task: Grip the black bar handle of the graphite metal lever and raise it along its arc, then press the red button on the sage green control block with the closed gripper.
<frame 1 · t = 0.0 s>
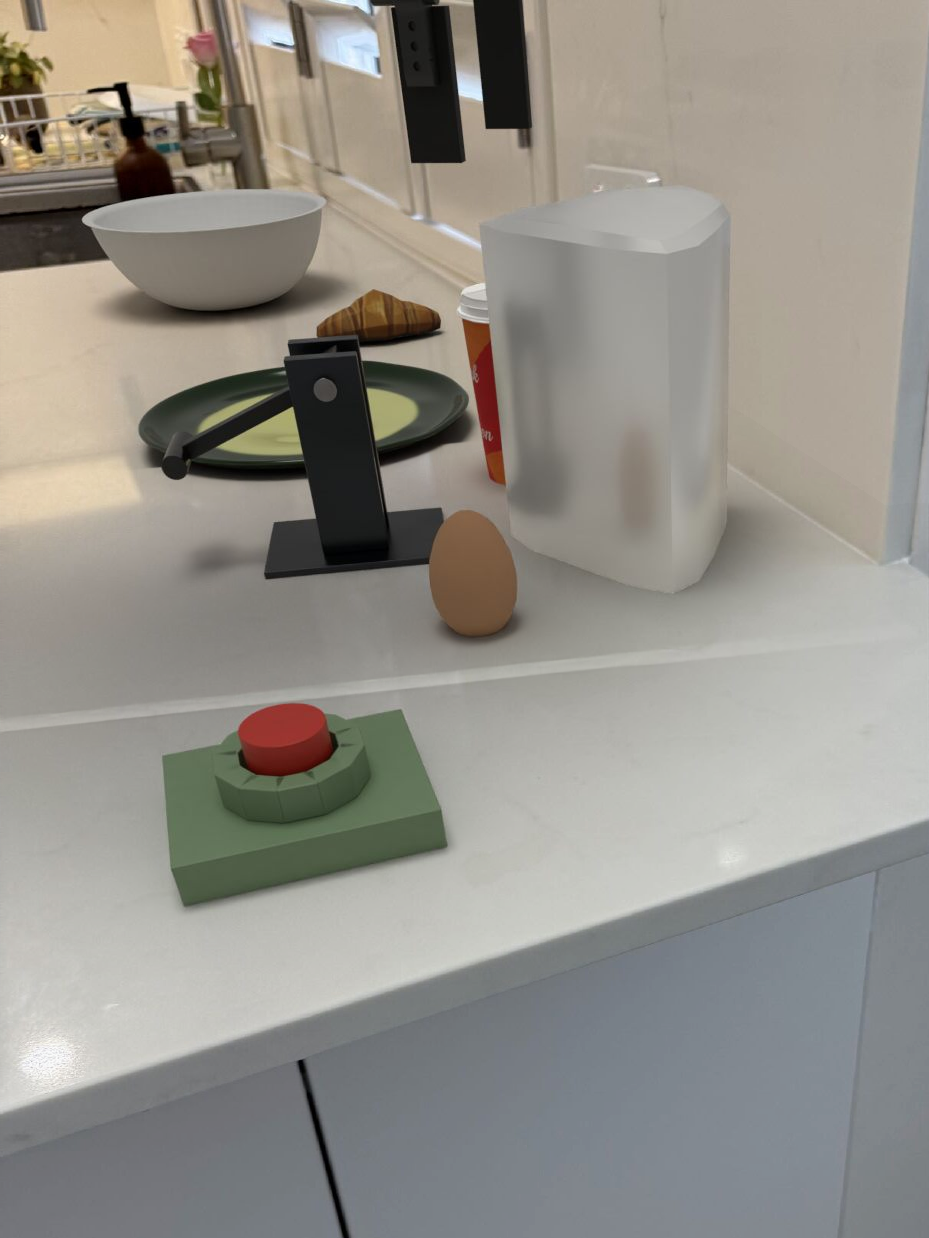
hand: (476, 144, 67), 25 cm above the worktop, tool pointing down, fingers open, 13 cm apart
egg: (481, 639, 74), on the worktop
frosted triangular prism: (651, 548, 85), on the worktop
button: (286, 740, 56), point 4 cm above the worktop, slide at 0.1 cm
bracket: (360, 555, 84), on the worktop
paper cup: (526, 486, 95), on the worktop
croissant: (381, 341, 130), on the worktop
plate: (312, 436, 106), on the worktop
bowl: (228, 304, 146), on the worktop
control block: (305, 818, 59), on the worktop
lever: (256, 413, 78), point 10 cm above the worktop, hinge at -22.0°
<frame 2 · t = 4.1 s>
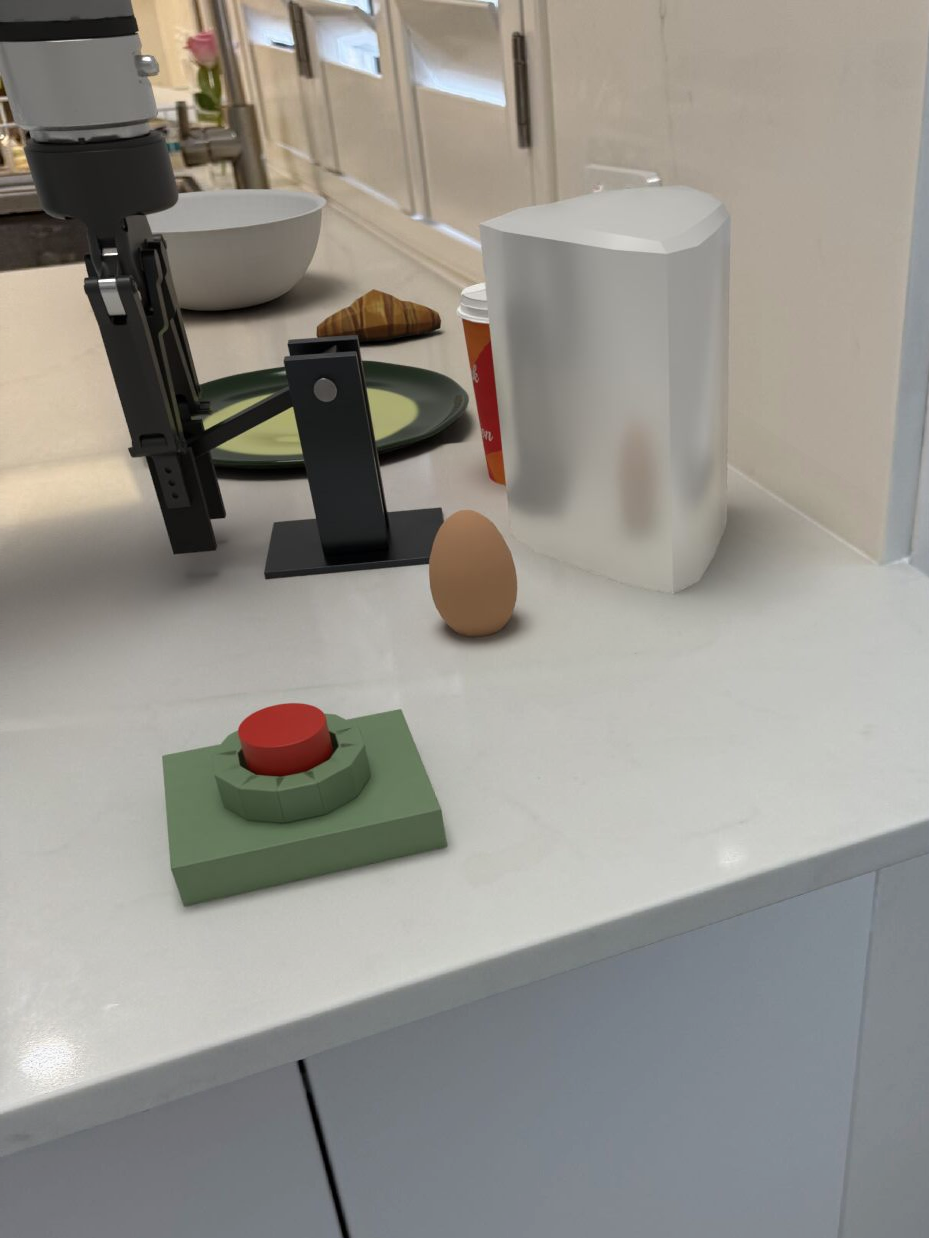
hand: (200, 532, 81), 3 cm above the worktop, tool pointing down, fingers closed on lever, 5 cm apart
lever: (256, 413, 78), point 10 cm above the worktop, hinge at -22.0°, touching gripper
everything else where it was.
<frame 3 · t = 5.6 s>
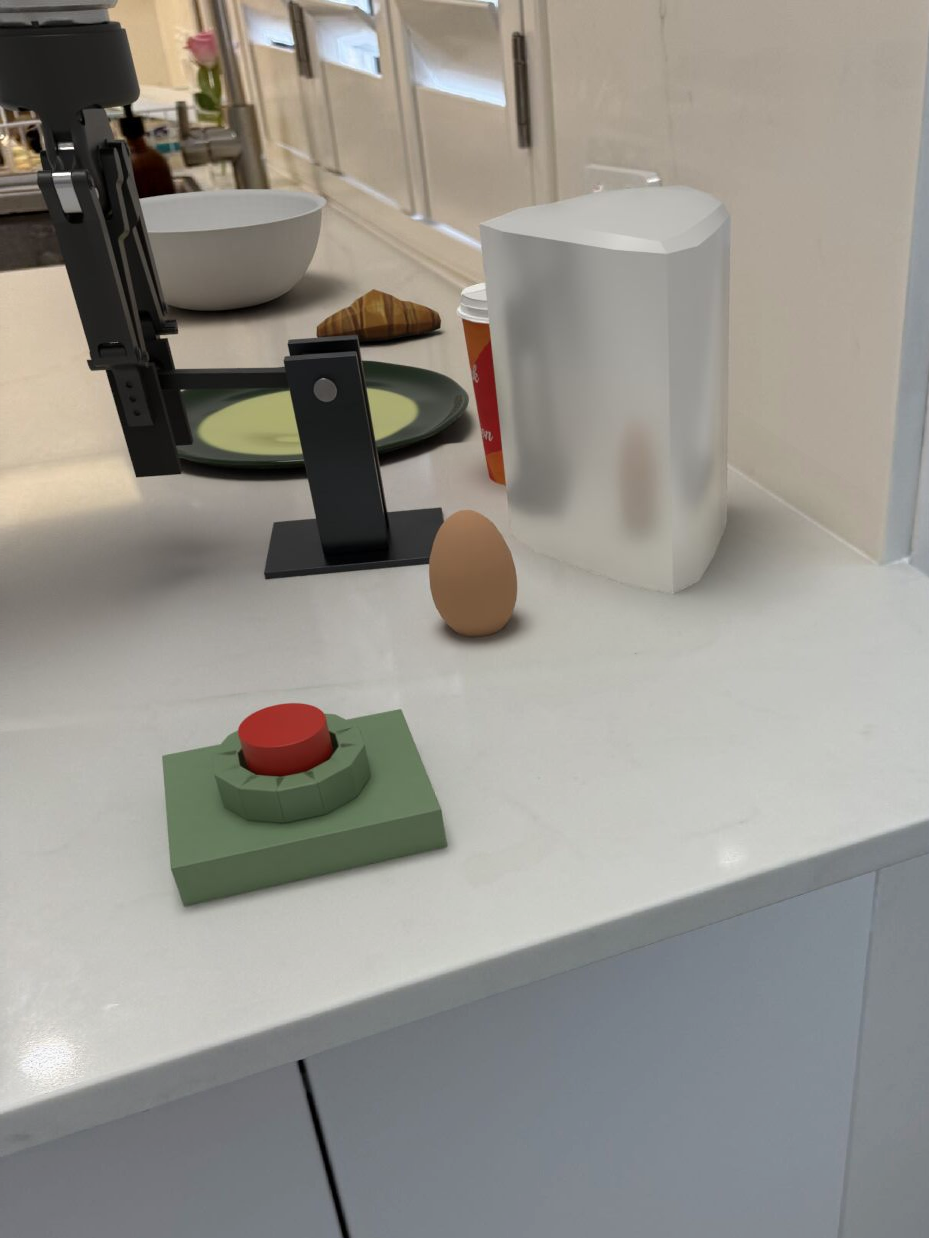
hand: (165, 457, 78), 8 cm above the worktop, tool pointing down, fingers closed on lever, 5 cm apart
lever: (242, 378, 76), point 12 cm above the worktop, hinge at 3.3°, touching gripper
everything else where it was.
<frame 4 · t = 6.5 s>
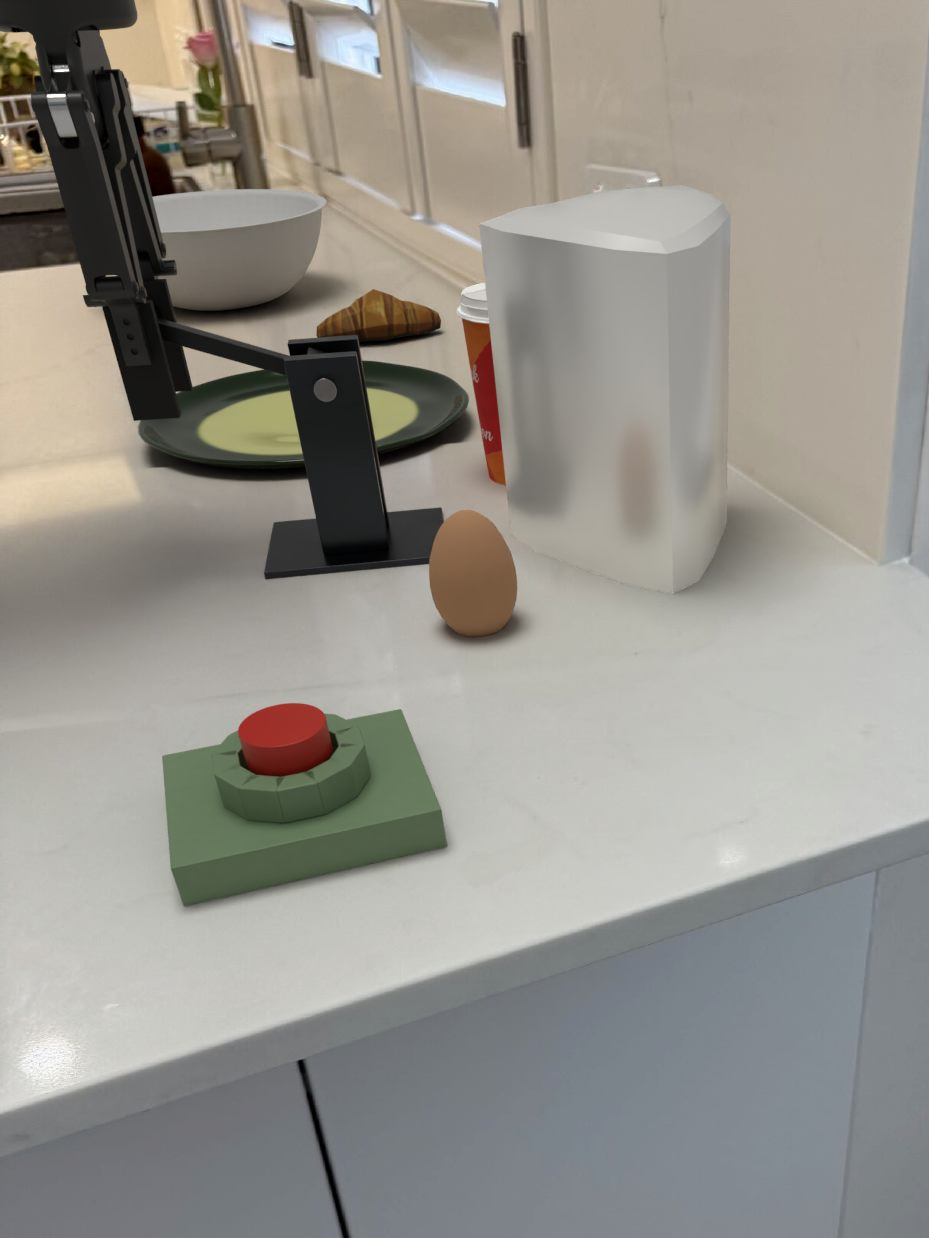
hand: (164, 402, 76), 11 cm above the worktop, tool pointing down, fingers closed on lever, 5 cm apart
lever: (242, 352, 75), point 14 cm above the worktop, hinge at 20.4°, touching gripper
everything else where it was.
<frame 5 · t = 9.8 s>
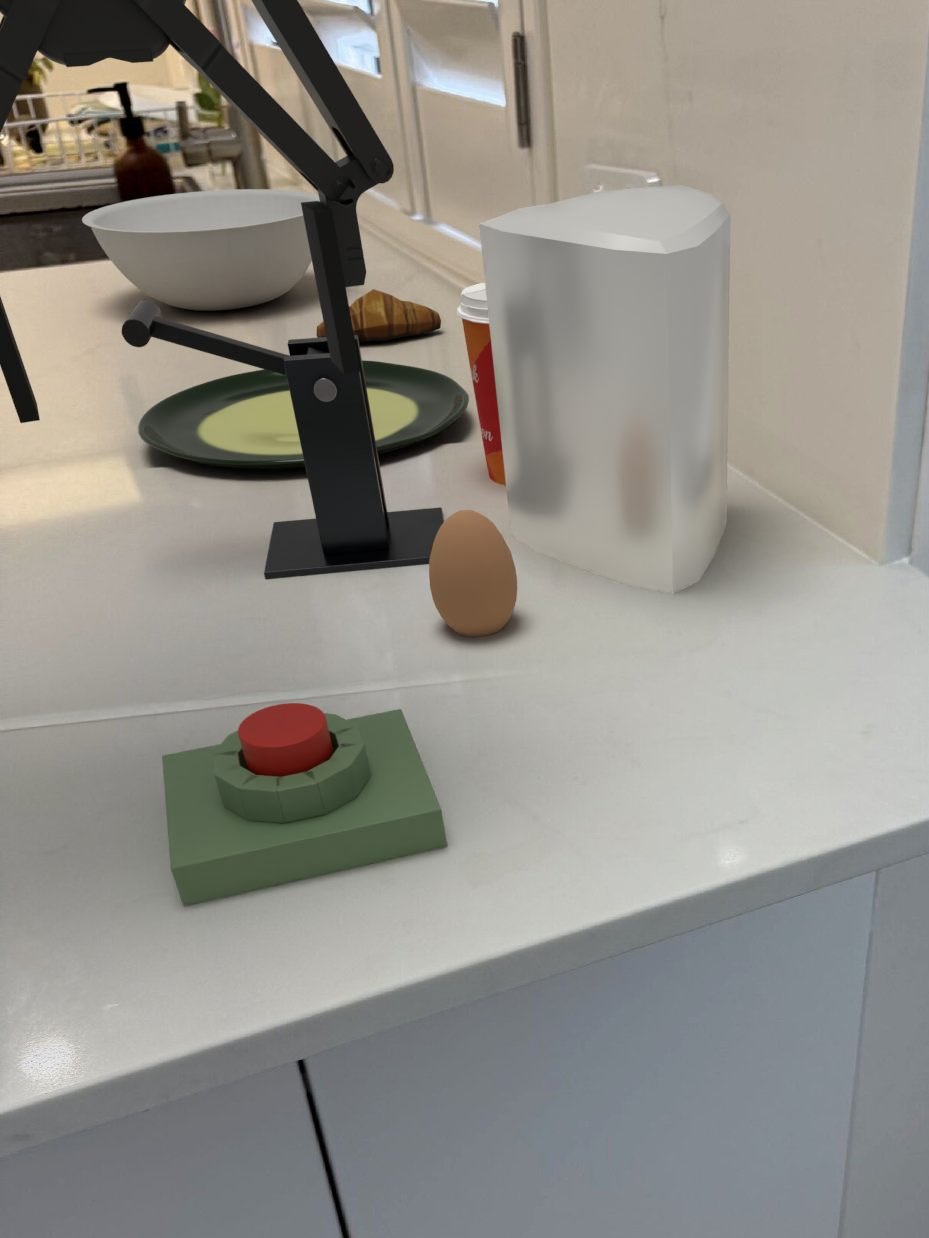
hand: (193, 389, 53), 18 cm above the worktop, tool pointing down, fingers open, 13 cm apart
lever: (242, 352, 75), point 14 cm above the worktop, hinge at 20.6°
everything else where it was.
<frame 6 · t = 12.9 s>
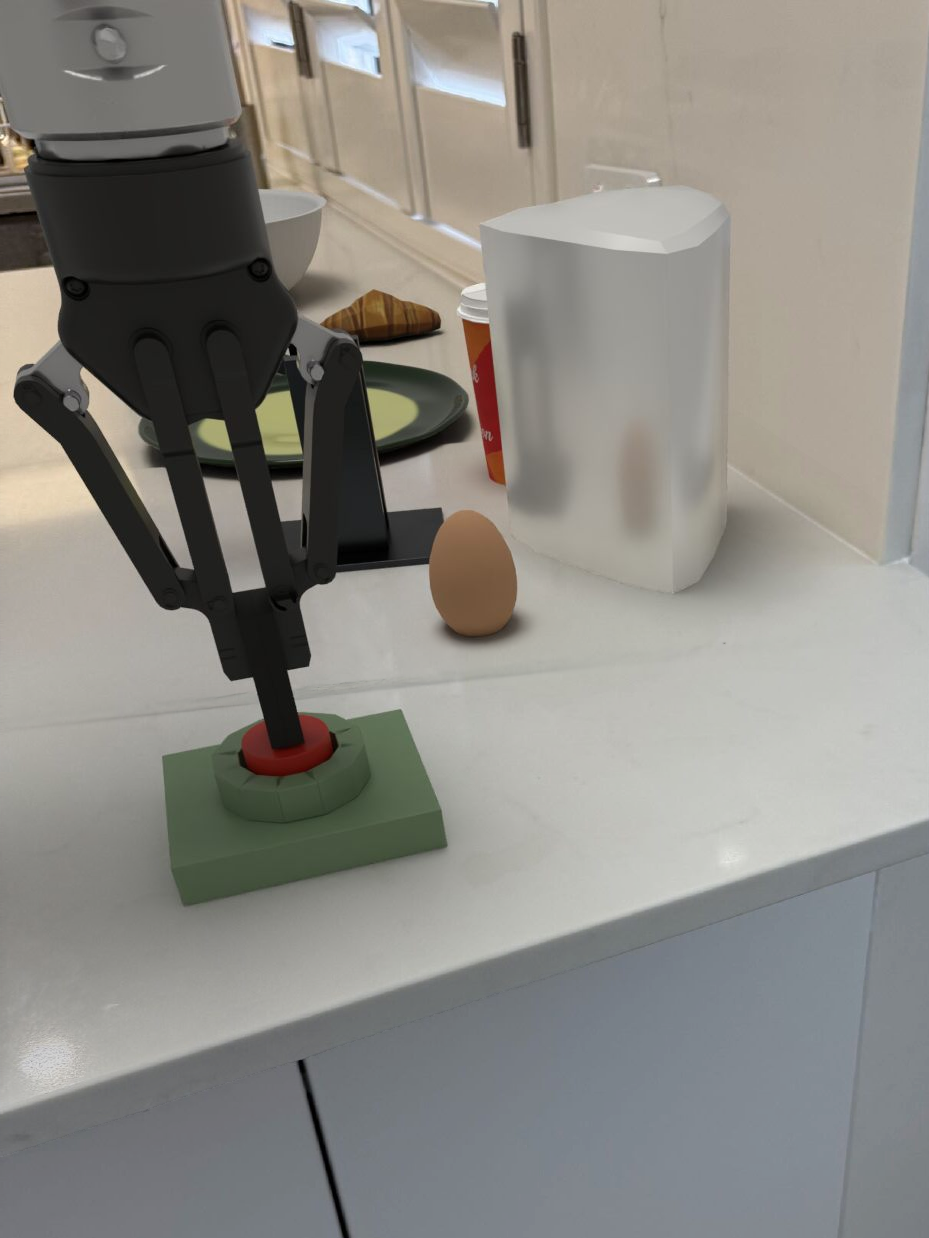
hand: (285, 731, 56), 5 cm above the worktop, tool pointing down, fingers closed
button: (288, 751, 57), point 4 cm above the worktop, slide at -0.5 cm, touching gripper
everything else where it was.
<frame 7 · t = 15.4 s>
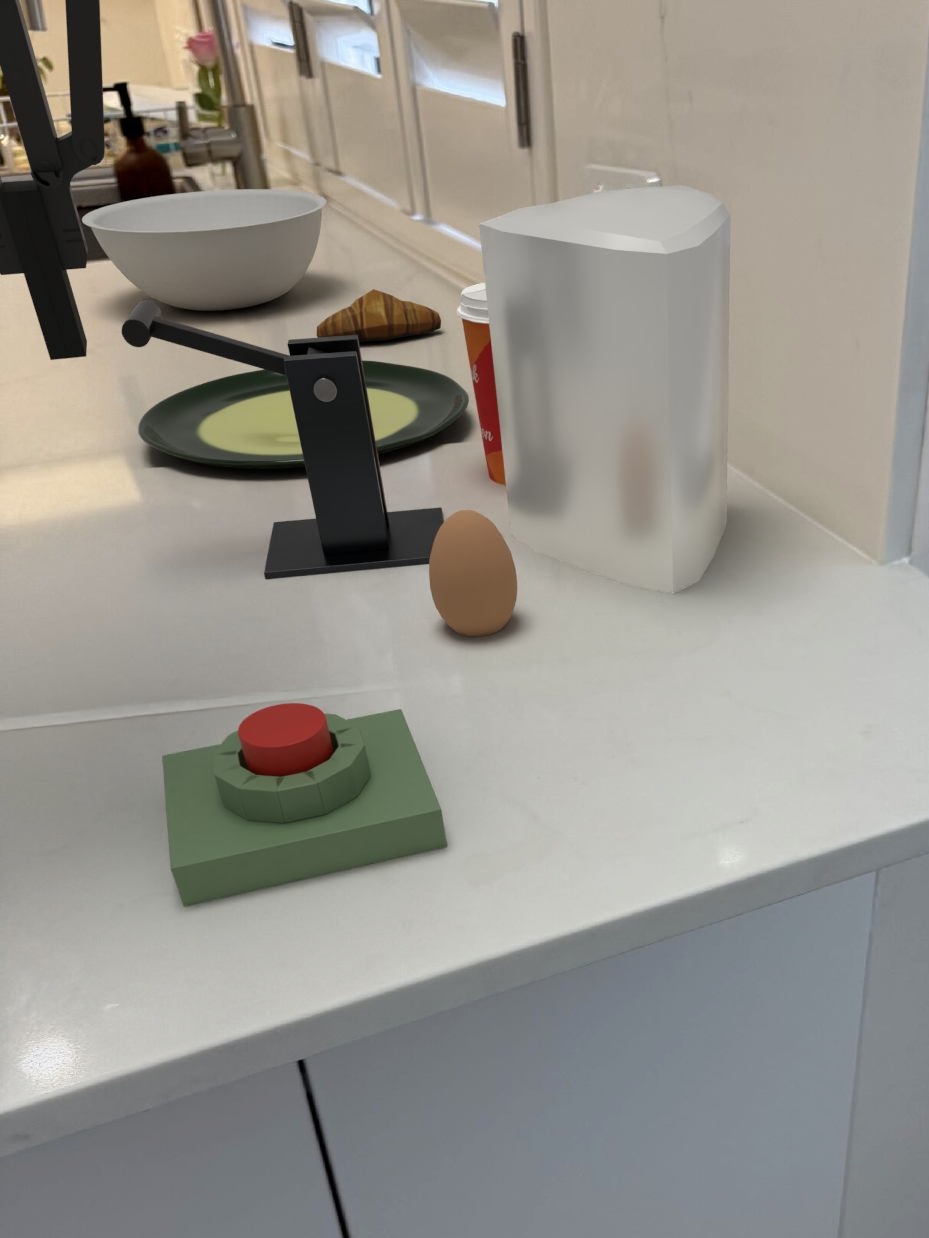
hand: (69, 349, 54), 20 cm above the worktop, tool pointing down, fingers closed
button: (286, 740, 56), point 4 cm above the worktop, slide at 0.1 cm
everything else where it was.
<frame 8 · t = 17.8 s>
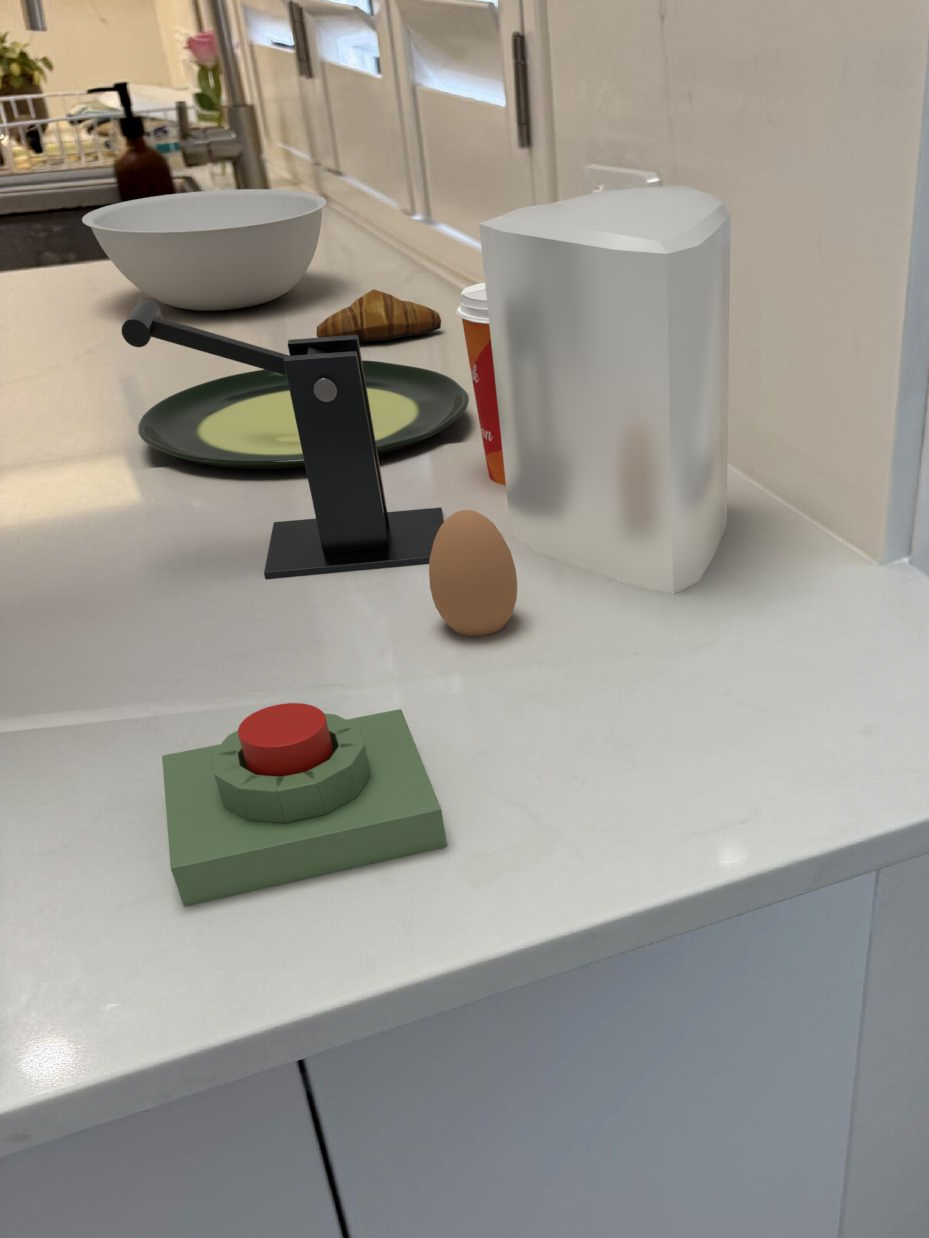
nothing on the worktop moved.
at the end: lever at +21° (first picture: -22°); button pushed in 1.0 cm at the most during the clip, back to where it started at the end; button slide at 0.1 cm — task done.
